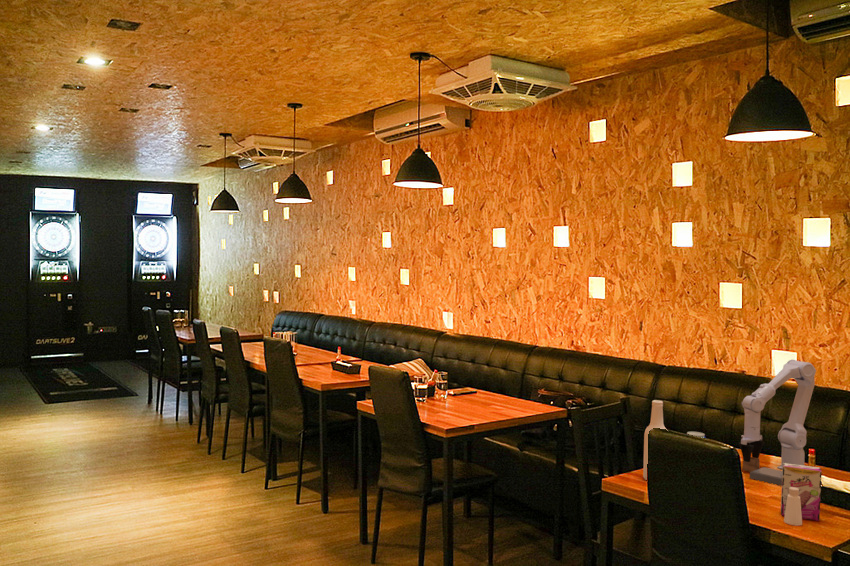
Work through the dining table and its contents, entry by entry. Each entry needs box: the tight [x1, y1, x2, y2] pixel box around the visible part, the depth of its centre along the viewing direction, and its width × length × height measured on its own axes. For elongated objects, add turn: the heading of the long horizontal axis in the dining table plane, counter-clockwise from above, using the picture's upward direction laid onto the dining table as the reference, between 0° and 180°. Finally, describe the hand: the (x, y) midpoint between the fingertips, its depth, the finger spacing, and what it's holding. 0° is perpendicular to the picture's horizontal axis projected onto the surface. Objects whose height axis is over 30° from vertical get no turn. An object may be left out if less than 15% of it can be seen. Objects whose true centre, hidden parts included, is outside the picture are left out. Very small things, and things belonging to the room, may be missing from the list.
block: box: [742, 456, 760, 473], centre depth 281 cm, size 4×4×5 cm
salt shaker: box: [783, 487, 803, 526], centre depth 221 cm, size 5×5×11 cm
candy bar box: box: [780, 463, 822, 522], centre depth 227 cm, size 11×5×16 cm, turn 65°
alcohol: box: [642, 399, 668, 481], centre depth 264 cm, size 9×9×30 cm
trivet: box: [749, 466, 782, 487], centre depth 268 cm, size 12×12×3 cm
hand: (751, 459), depth 281 cm, fingers open, 7 cm apart
